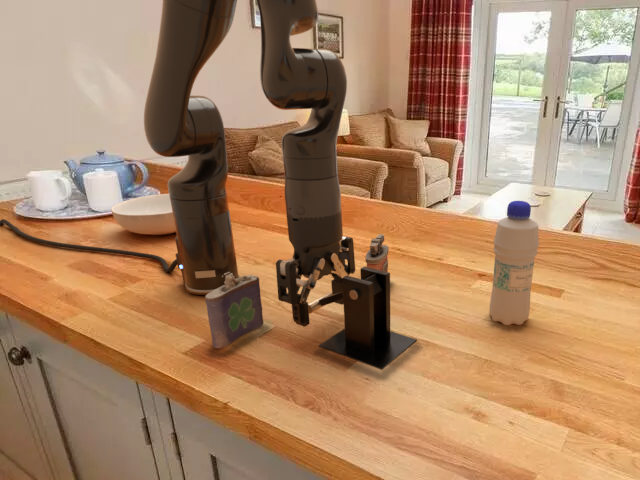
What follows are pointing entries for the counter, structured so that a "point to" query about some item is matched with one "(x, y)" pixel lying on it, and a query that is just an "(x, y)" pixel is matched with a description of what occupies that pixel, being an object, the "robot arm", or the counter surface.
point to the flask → (234, 309)
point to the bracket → (368, 323)
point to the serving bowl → (146, 215)
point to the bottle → (514, 264)
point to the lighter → (377, 254)
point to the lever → (339, 295)
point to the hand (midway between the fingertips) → (321, 313)
